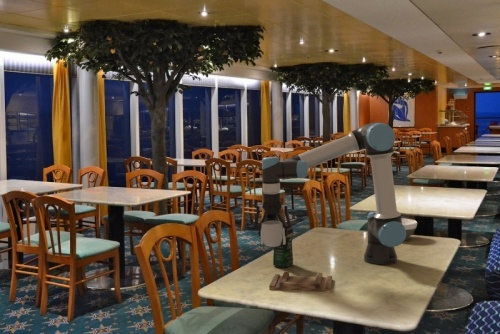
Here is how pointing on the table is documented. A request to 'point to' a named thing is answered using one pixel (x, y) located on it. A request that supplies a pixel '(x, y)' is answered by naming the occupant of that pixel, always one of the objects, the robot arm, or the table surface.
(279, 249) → the coffee jar
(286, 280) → the rack
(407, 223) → the bowl
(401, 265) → the table surface
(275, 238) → the mug
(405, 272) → the table surface
